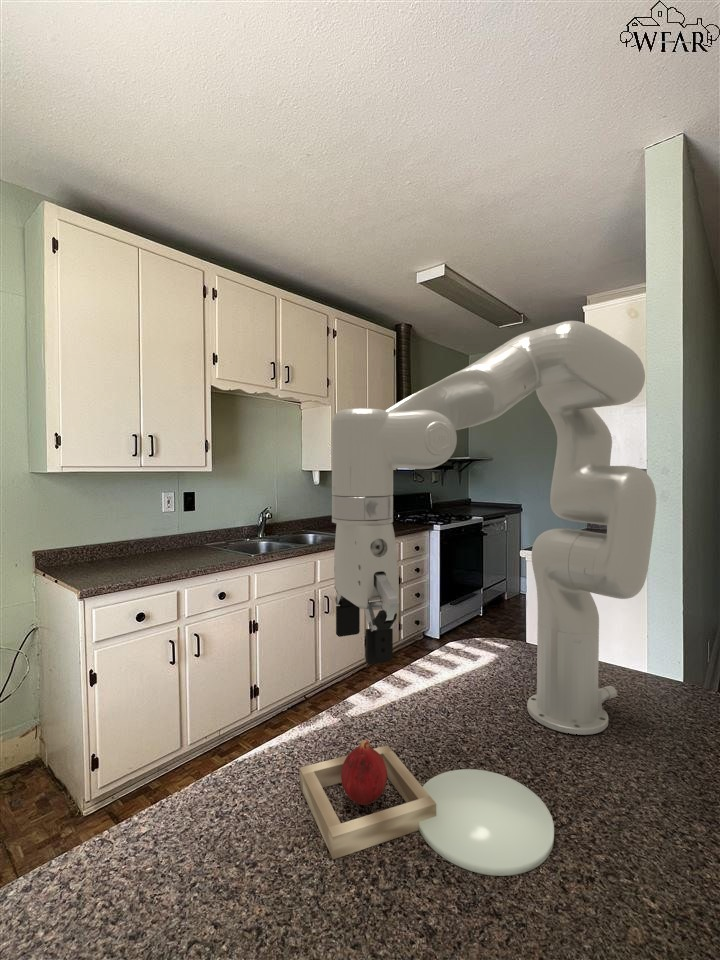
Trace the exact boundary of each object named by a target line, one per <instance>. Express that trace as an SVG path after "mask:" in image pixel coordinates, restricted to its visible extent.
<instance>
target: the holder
mask: <svg viewBox="0 0 720 960" xmlns="http://www.w3.org/2000/svg"><path fill="white" fill-rule="evenodd" d="M373 749H374V750H375V751H377V752H378V753H379V754H380V755H381V756H382V758H383V760H384V763H385V766H386V769H387V780H389V782H390V783H391V784H392V785H393V787H394V788H395V789H396V790H397V792H398V793H399V795H400V796H401V797H402V799H403V800H404V801H405V803H402V804H399V805H395V806H393V807H388V808H386V809H383V810H380V811H376V812H373V813H371V814H366V815H364V816H360V817H358V818H354V819H351V820H348V821H345V822H342V823H341V821H340V819H339V817H338V815H337V814H336V811H335V809H334V808H333V805H332V804H331V802H330V800H329V798H328V795H327V794H326V792H325V789H323V788H327V787H330V786H334V785H338V784H342V780H341V770H342V766H343V763H344V761H345V759H346V757H347V756H348V754H347V755H344V756H340V757H336V758H333V759H328V760H325V761H321V762H317V763H313V764H309V765H306V766H300V767H299V787H300V790H301V793H302V794H303V796H304V799H305V801H306V803H307V805H308V808H309V810H310V812H311V814H312V816H313V819H314V821H315V823H316V825H317V827H318V830H319V832H320V834H321V836H322V839H323V840H324V843H325V845H326V847H327V850H328V851H329V854H330V856H331V858H332V860H336V859H338V858H339V859H340V858H342V857H345V856H348V855H351V854H353V853H357V852H359V851H362V850H366V849H368V848H372V847H374V846H377V845H381V844H382V843H386V842H389V841H391V840H394V839H397V838H400V837H404V836H407V835H408V834H412V833H415V832H418V831H419V822H420V821H423V820H426V819H429V818H432V817H435V816H436V803H435V801H434V800H433V799H432V798H431V797H430V795H429V794H428V793H427V792H426V791H425V789H424V788H423V785H421V783H420V782H419V781H418V780H417V778H415V776H414V774H412V773H411V771H410V770H409V769H408V768H407V766H406V765H405V764H404V763H403V762H402V761H401V759H400V758H399V757H398V756H397V754H396V753H395V752H394V751H393V750H392V749H391V748H390V746H389V745H388V744H387V745H383V746H378V747H375V748H373Z"/></svg>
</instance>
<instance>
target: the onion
mask: <svg viewBox="0 0 720 960" xmlns="http://www.w3.org/2000/svg"><path fill="white" fill-rule="evenodd" d="M370 744H371V743H370V741H369V740H368V739H363V740H361V741H360V744H359V745H358V747H356V748H355V749H353V750H351V752H349V753H348V754H347V755H348V756H347V755H346V756H347V757H346V759H345V761H344V763H343V766H342V770H341V780H342V782H341V786H342V789H343V791H344V793H345V795H346V796H347V797H348V798H349V799H350V800H351V801H352V802H354V803H355V804H357V805H361V806H367V805H370V804H371V803H373V802H375V801H376V800H378V799H379V798H380V796H381V795H382V794H383V793H384V790H385V789H386V785H387V781H388V777H387V769H386V766H385V763H384V760H383V758H382V756H381V755H380V754H379V753H378V752H377V751H375V750H374V748H373V747H370Z"/></svg>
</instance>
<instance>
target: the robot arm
mask: <svg viewBox="0 0 720 960" xmlns="http://www.w3.org/2000/svg"><path fill="white" fill-rule="evenodd" d="M645 382H646V373H645V368H644V364H643V362H642V360H641V358H640V357H639V355H638V354H637V353H636V352H635V351H634V350H633V349H631V348H630V347H629V346H627V345H625V343H622V342H621V341H619V340H618V339H616V338H615V337H612V336H611V335H609V334H608V333H606V332H605V331H602V330H601V329H599V328H597V327H595V326H593V325H591V324H589V323H585V322H582V321H578V320H565V321H562V322H559V323H555V324H552V325H548V326H543V327H540V328H537V329H534V330H530V331H526V332H524V333H520V334H518V335H517V336H515V337H512V338H511V339H509V340H508V341H506V342H504V343H503V344H501V345H500V346H498V347H497V348H495V349H494V350H492V351H490V352H489V353H487V354H486V355H484V356H483V357H480V358H479V359H478V360H477V361H474V362H473V363H471V364H470V365H468V366H466V367H464V368H463V369H460V370H459V371H456V372H454V373H452V374H450V375H448V376H446V377H444V378H443V379H441V380H438V381H437V382H435V383H433V384H431V385H429V386H427V387H425V388H423V389H420V390H419V391H416V392H414V393H413V394H411V395H409V396H407V397H404V398H403V399H401V400H400V401H397V402H396V403H394V404H393V405H391V406H390V407H389V408H387V409H385V410H383V409H381V408H372V407H357V408H356V407H354V408H353V407H352V408H345V409H342V410H338V411H337V412H336V413H334V415H333V418H332V421H331V423H332V424H331V495H332V496H331V523H332V524H333V523H334V524H336V526H335V527H336V528H335V538H334V539H335V540H334V541H335V542H334V565H333V572H334V573H333V575H334V576H333V577H334V580H333V581H334V589H335V591H336V595H335V598H334V602H335V605H336V606H335V634H336V636H337V637H340V638H341V637H347V636H349V637H350V636H354V635H355V636H356V635H359V634H360V632H361V631H360V630H361V628H360V627H361V625H360V624H361V619H360V618H361V615H360V613H361V612H360V611H361V610H363V611H364V615H365V619H366V622H367V625H368V628H365V663H366V664H367V665H368V666H372V665H378V664H384V663H390V662H392V660H393V658H394V657H393V656H394V655H393V650H394V649H393V648H394V645H393V644H394V641H393V640H394V639H393V638H394V636H393V634H394V630H393V629H395V625H396V623H395V622H396V620H397V617H398V613H397V610H398V608H399V604H400V599H399V598H400V597H399V593H400V591H399V570H398V569H399V568H398V551H397V543H396V535H395V531H394V526H393V525H394V524H393V522H394V496H393V495H394V469H406V470H428V469H434V468H436V467H439V466H441V465H443V464H444V463H446V462H447V461H448V460H450V458H451V457H452V455H453V454H454V452H455V450H456V448H457V442H458V441H457V439H458V437H457V436H458V435H457V431H460V430H462V429H467V428H471V427H476V426H478V425H479V426H480V425H482V424H485V423H487V422H490V421H493V420H495V419H497V418H499V417H501V416H502V415H504V414H505V413H507V411H509V410H510V409H511V408H513V407H514V406H516V405H517V404H518V403H519V402H522V400H523V399H525V398H526V397H527V396H529V395H531V394H532V393H534V392H536V396H537V398H538V400H539V403H541V406H542V407H543V409H544V410H545V411H546V413H547V414H548V416H549V418H550V419H551V422H552V423H553V426H554V428H555V432H556V437H557V439H556V440H557V443H556V444H557V445H556V454H555V459H554V467H553V473H552V479H551V486H550V495H549V496H550V498H549V500H550V501H549V502H550V503H549V504H550V508H551V511H552V513H554V514H555V516H557V517H558V518H559V519H563V520H566V521H570V522H575V523H576V522H578V523H585V524H593V525H594V524H595V525H603V526H606V533H601V532H595V531H590V530H589V531H588V530H580V529H574V528H561V527H560V528H552V529H548V530H545V531H544V532H542V533H540V534H539V535H538V536H537V537H536V539H535V540H534V542H533V544H532V548H531V564H532V570H533V575H534V580H535V586H536V595H537V596H536V600H537V601H536V602H537V630H536V631H537V634H536V635H537V642H536V643H537V647H536V649H537V652H536V654H537V655H536V656H537V657H536V658H537V661H536V662H537V663H536V666H537V667H536V668H537V669H536V694H535V693H534V694H533V695H531V696H529V698H528V700H527V702H526V703H527V704H526V708H527V712H528V714H529V715H530V717H532V718H533V719H534V720H535V721H536V722H537V723H538V724H540V725H542V726H544V727H546V728H548V729H551V730H554V731H556V732H560V733H564V734H568V733H569V735H570V734H571V735H576V734H577V735H578V736H579V735H580V736H582V735H583V736H587V735H589V736H590V735H595V734H598V733H601V732H604V731H605V730H606V729H607V727H608V725H609V715H608V712H607V711H606V710H605V709H604V707H603V706H602V704H603V703H604V702H605V701H606V700H610V699H614V698H616V697H617V696H618V692H617V689H616V688H615V687H614V686H613V685H607V686H604V687H601V688H600V687H599V664H600V662H599V653H600V652H599V651H600V650H599V645H600V615H599V611H598V607H597V603H596V602H595V600H594V598H593V596H592V594H595V595H600V596H603V597H609V598H613V599H621V600H628V599H632V598H634V597H636V596H637V595H638V594H640V592H641V591H642V589H643V588H644V585H645V583H646V580H647V576H648V571H649V566H650V565H649V564H650V559H651V558H650V557H651V550H652V549H651V548H652V542H653V533H654V527H655V520H656V513H657V511H656V510H657V494H656V493H657V492H656V489H655V485H654V482H653V479H652V478H651V476H650V475H649V474H648V473H647V472H646V471H645V470H642V469H641V468H639V467H635V466H630V465H611V456H612V448H613V439H612V438H613V437H612V434H611V431H610V429H609V427H608V426H607V424H606V422H605V421H604V419H602V417H601V416H600V415H599V414H598V413H597V411H596V410H595V408H602V407H612V406H620V405H621V406H622V405H624V404H628V403H630V402H632V401H633V400H635V399H636V398H637V397H638V396H639V394H640V393H641V392H642V390H643V388H644V385H645ZM377 610H379V611H378V612H377V614H376V615H375V613H374V611H377Z"/></svg>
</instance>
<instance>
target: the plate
mask: <svg viewBox="0 0 720 960" xmlns="http://www.w3.org/2000/svg"><path fill="white" fill-rule="evenodd" d="M422 787H423V788H424V789H425V791H426V792H427V793H428V794H429V795H430V797H431V798H432V799H433V800H434V801H435V803H436V816H435V817H432V818H429V819H426V820H423V821H420V822H419V830H418V831H419V833H420V834H421V836H422V838H423V840H424V841H425V842H426V844H428V845H429V847H430V848H431V849H432V850H433V851H434V852H435V853H437V854H438V855H439V856H440V857H442V858H443V859H444V860H446V861H448V862H450V863H451V864H453V865H455V866H457V867H459V868H462V869H464V870H467V871H470V872H474V873H475V874H481V875H485V876H486V875H487V876H495V877H497V876H498V877H504V876H506V877H508V876H509V877H510V876H516V875H521V874H524V873H527V872H529V871H532V870H534V869H536V868H538V867H539V866H540V865H542V864H543V863H544V862H545V861H546V860H547V859H548V857H549V856H550V854H551V853H552V851H553V847H554V843H555V842H554V841H555V823H554V820H553V816H552V815H551V813H550V810H549V809H548V807H547V805H546V804H545V803H544V802H543V801H542V798H540V797H539V796H538V795H537V794H536V793H534V792H533V791H532V790H531V789H529V788H528V787H526V785H524V784H523V783H521V782H518V781H517V780H515V779H514V778H511V777H508V776H505V775H503V774H500V773H497V772H493V771H489V770H483V769H474V768H473V769H472V768H471V769H470V768H469V769H468V768H463V769H462V768H461V769H454V770H449V771H446V772H442V773H439V774H437V775H435V776H433V777H431V778H430V779H429V780H428V781H426V782H425V783H424V784H423V785H422Z"/></svg>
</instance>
